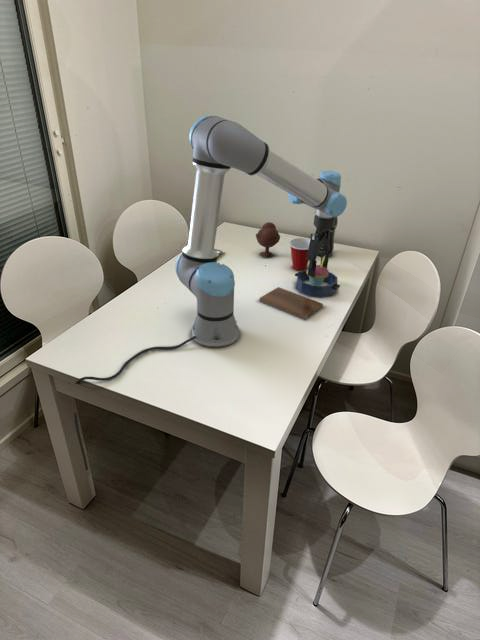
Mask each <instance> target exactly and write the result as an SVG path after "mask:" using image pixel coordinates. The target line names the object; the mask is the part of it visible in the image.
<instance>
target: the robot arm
mask: <svg viewBox="0 0 480 640" xmlns="http://www.w3.org/2000/svg"><path fill="white" fill-rule="evenodd" d="M188 140H189V145H190V147H191V149H192V150H193V151H192V152H193V153H192V161H191V162H192V165H193V166H194V167H195V169H196V172H195V180H194V188H193V198H192V206H191V214H190V216H191V217H190V224H189V230H188V231H189V232H188V238H187V239H188V240H187V245H185V246H184V247H183V248H182V249H181V250H182V251H181V253H180V255H179V256H178V257H177V259H176V261H175V266H174V267H175V269H174V270H175V274H176V276H177V278H178V280H179V281H180V283H181V284H182V285H183V286H184V287H186V288H187V289H188V291H190V293H191V294H192V295H193V296H194V297H195V298H196V311H197V312H196V316H195V320H194V323H193V326H192V328H191V336H192V337H190V338H188V339H186V340H184V341H183V342H180V343H179V344H177V345H174V346H173V345H172V346H152V347H148V348H145V349H142V350H140V351H139V352H137V353H135V354H134V355H132V357H129V359H127V360H126V361H125V362H124V363H123V364H122V366H121V367H120V368H119V370H118V371H117V372H116V373H115V374H113V375H111V376H108V377H97V376H83V377H80V378H79V379H78V380H76V382H74V383H75V385H78V384H80V382H82V381H85V380H92V381H100V382H102V381H104V382H107V381H111V380H113V379H115V378H116V377H118V376H119V375H120V374H122V372H123V370H124V369H125V367H126V366H127V365H129V363H130V362H132V361H133V360H135V359H136V358H137V357H139V356H140V355H142V354H145V353H147V352H150V351H154V350H174V349H178V348H179V349H180V348H181V347H183V346H184V345H186V344H187V343H190V342H191V341H194V342H196V343H197V344H199V345H201V346H204V347H207V348H223V347H227V346H230V345H232V344H234V343H235V342H236V341H237V340H238V339H239V333H240V329H239V326H238V321H237V319H236V317H235V314H234V312H235V310H234V308H235V286H236V281H235V274H234V271H233V270H232V269H231V268H230V266H228V265H226V264H224V263H220V262H218V258H219V256H218V253H217V252H216V250H215V249H216V248H215V244H216V237H217V231H218V224H219V217H220V209H221V202H222V196H223V189H224V182H225V176H226V173H228V172H229V171H230V170H231V168H232V169H236V170H237V171H240V172H242V173H245V174H247V175H248V176H258V177H260V178H262V179H263V180H265V181H267V182H269V183H270V184H272V185H274V186H275V187H278V188H279V189H280V190H283V191H284V192H286V193H287V197H288V200H289V201H290V203H291V204H293V205H302V204H303V205H306V206H309V207H311V208H313V209H315V211H314V214H315V215H314V218H313V226H314V227H315V231H314V232H315V233H314V234H313V233H311V234H310V238H309V239H310V244H309V248H308V253H307V257H306V260H309V262H308V268H309V269H308V268H307V269H308V276H311V277H315V271H316V265H318V264H317V263H318V261H317V258H318V256H319V255H318V252H319V249H320V246H321V244H323V251H324V252H323V253H322V256H320V257H321V259H320V264H319V265H321V263H322V260H323V257H324V256H325V259H324V263H323V266H324V267H325V268H326V269H327V270H328V265H329V258H330V256H329V254H332V250H333V251H334V249H333V238H334V239H335V234H334V229H335V227H334V224H335V217H337V218H338V217H339V216H341V215H342V214H343V213H344V212H345V210H346V208H347V204H348V200H347V198H346V195H344V194H343V193H341V192H340V191H341V181H342V175H341V173H340V172H337V171H334V170H322V171H320V173H319V176H318V178H315V177H313V176H312V175H310V174H308V173H307V172H305V171H304V170H302V169H300V168H299V167H298V166H296V165H294V164H292V163H291V162H289V161H288V160H286V159H284V158H283V157H281V156H280V155H278V154H277V153H275V152H274V151H272V150H270V146H269V144H268V143H266V142H265V141H264V140H262V139H261V138H259V137H258V136H257V135H255V134H254V133H252V132H251V131H250V130H248V129H247V128H246V127H244V126H243V125H242V124H240V123H238V122H236V121H233V120H229V119H226V118H223V117H221V116H217V115H204V116H201V117H199V118H198V119H197V120H196V121H195V122H194V123H193V124H192V126H191V128H190V131H189V135H188ZM335 230H336V229H335ZM318 240H319V241H318ZM330 246H331V247H330ZM332 255H333V254H332ZM73 419H74V425H75V431H76V434H77V439H78V443H79V448H80V450H81V454H82V459H83V463H84V464H83V465H84V468H85V471H89V468H88V462H87V456H86V453H85V449H84V444H83V441H82V437H81V432H80V428H79V421H78V414H77V413H76V412H73Z"/></svg>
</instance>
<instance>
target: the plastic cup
mask: <svg viewBox="0 0 480 640" xmlns="http://www.w3.org/2000/svg"><path fill="white" fill-rule="evenodd" d="M309 244H310V238H307V237H294V238H291V239H290V240H289V242H288V245H289V246H290V252H291V253H290V254H291V262H292V269H293V270H294V271H298V272H299V271H300V272H301V271H303V270H307V269H308V266H309V260H306V257H307V253H308V248H309Z"/></svg>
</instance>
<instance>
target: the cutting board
mask: <svg viewBox="0 0 480 640" xmlns="http://www.w3.org/2000/svg"><path fill="white" fill-rule="evenodd" d="M259 303H263V304H265V305H267V306H270V307H272V308H275V309H278V310H280V311H282V312H285V313H287V314H290V315H292V316H294V317H297V318H300V319H303V320H307V319H308V318H310V317H311V316H312V315H313V314H315V313H317V312H318V311H319V310H321V309H322V308H323V306H324V303H322V302H320V301H316V300H315V299H312V298H309V297H306V296H304V295H301V294H298V293H295V292H293V291H291V290H288V289H285V288H282V287H280V286H277V287H276V288H274V289H273V290H271V291H269V292H268V293H265V294H263V295H262V296H260V297H259Z"/></svg>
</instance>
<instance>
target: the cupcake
mask: <svg viewBox="0 0 480 640" xmlns="http://www.w3.org/2000/svg"><path fill="white" fill-rule="evenodd" d="M324 259H325V256H324V257H323V260H322V263H321V262H320V264H321V265H320V264H316V271H315V277H311V276H309V278H310V280H309V282H310V283H309V284H310V285H316V286H322V285H323V283H324V279H325V278H326V277H327V276H328V273H329V272H330V271H329V269H328V268H327V269H326V268H325V267H324V266H323V263H324ZM308 269H309V267H307V268H306V270H307V271H306V273H307V275H308Z"/></svg>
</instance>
